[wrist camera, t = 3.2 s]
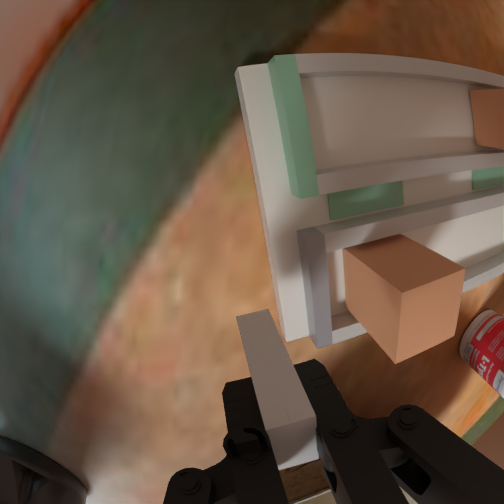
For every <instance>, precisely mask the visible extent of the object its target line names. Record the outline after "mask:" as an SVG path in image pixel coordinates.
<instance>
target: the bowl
mask: <svg viewBox="0 0 504 504" xmlns="http://www.w3.org/2000/svg"><path fill="white" fill-rule="evenodd" d="M318 455H319V454H318ZM279 473H280V476H281V479H282V483H283V486H284V489H285V492H286V496H287V499H288V502H289V504H336V501H335V499H334V496H333V494H332V492H331V489H330V487H329V484H328V482H327V479H325V480H323V464H322V461H321V459H320V456H319V459H316V460H313V461H310V462H307V463H303V464H300V465H296V466H293V467H289V468H285V469H282V470H279ZM399 487H400V486H399ZM400 488H401V487H400ZM401 490H402V492H403V494H404V495H405V497H406V499H407V501H408V502H409V504H418V503H417V502H416V501H415V500H414V499H413V498H411V497H410V496H409V495H408V494H407V493H406V492H405V491H404V490H403V489H402V488H401Z"/></svg>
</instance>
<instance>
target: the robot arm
mask: <svg viewBox="0 0 504 504" xmlns="http://www.w3.org/2000/svg"><path fill="white" fill-rule="evenodd" d="M236 318H237V322H238V326H239V330H240V335H241V339H242V343H243V346H244V350H245V354H246V358H247V362H248V366H249V370H250V374H251V377H249V378H245V379H241V380H236V381H232V382H227V383H226V384H225V387H224V389H223V392H222V396H223V403H224V409H225V416H226V423H227V429H228V433H227V435H226V436H225V438H224V441H223V447H224V449H225V451H226V453H227V455H226V457H225V458H224V459H223V460H222V461H221V462H219V463H218V464H216V465H214V466H212V467H209V468H207V469H205V470H203V471H202V470H201V469H197V468H185V469H182V470H180V471H178V472H176V473H175V474H174V475H173V476H172V477H171V479H170V481H169V484H168V487H167V491H166V495H165V498H164V502H163V504H289V502H288V499H287V496H286V492H285V489H284V486H283V483H282V479H281V476H280V473H279V470H282V469H285V468H289V467H293V466H296V465H300V464H303V463H307V462H310V461H313V460H316V459H319V456H320V459H321V461H322V464H323V480H325V479H327V482H328V484H329V487H330V489H331V492H332V494H333V496H334V499H335V501H336V504H409V502H408V501H407V499H406V497H405V495H404V494H403V492H402V490H401V488H402V489H403V490H404V491H405V492H406V493H407V494H408V495H409V496H410V497H411V498H413V499H414V500H415V501H416V502H417V503H418V504H504V470H503V469H501V468H500V467H499V466H497V465H496V464H495V463H493V462H492V461H491V460H489V459H488V458H486V457H485V456H484V455H483V454H481V453H480V452H479V451H477V450H476V449H475V448H473V447H472V446H471V445H469V444H468V443H467V442H465V441H464V440H463V439H461V438H460V437H459V436H457V435H456V434H455V433H453V432H452V431H451V430H449V429H448V428H447V427H445V426H444V425H443V424H442V423H440V422H439V421H438V420H436V419H435V418H434V417H432V416H431V415H430V414H428V413H427V412H426V411H425V410H423V409H422V408H420V407H418V406H415V405H403V406H400V407H398V408H396V409H394V411H393V412H392V413H391V414H390V416H389V417H384V418H377V419H364V418H360V417H358V416H356V415H354V414H353V413H352V412H351V411H350V410H349V409H348V407H347V405H346V403H345V402H344V400H343V398H342V396H341V394H340V393H339V391H338V389H337V387H336V386H335V384H334V383H333V380H332V379H331V377H330V376H329V373H328V372H327V370H326V368H325V366H324V365H323V364H321V363H320V362H318V361H317V360H315V359H312V360H309V361H306V362H302V363H299V364H295V365H293V363H292V361H291V359H290V357H289V354H288V352H287V350H286V348H285V345H284V343H283V341H282V339H281V336H280V334H279V332H278V330H277V327H276V325H275V323H274V321H273V318H272V316H271V314H270V312H269V309H265V310H261V311H257V312H253V313H249V314H245V315H241V316H237V317H236ZM318 454H319V455H318ZM399 486H400V487H401V488H400V487H399ZM86 497H87V491H86V489H85V487H84V486H83V484H82V483H81V482H80V481H79V480H78V479H77V478H76V477H75V476H73V475H72V474H71V473H70V472H68V471H67V470H66V469H64V468H63V467H61V466H60V465H58V464H57V463H55V462H53V461H52V460H50V459H49V458H47V457H45V456H43V455H42V454H40V453H38V452H36V451H34V450H32V449H30V448H28V447H26V446H24V445H22V444H19V443H17V442H15V441H12V440H9V439H6V438H3V437H0V504H85V503H86Z"/></svg>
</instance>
